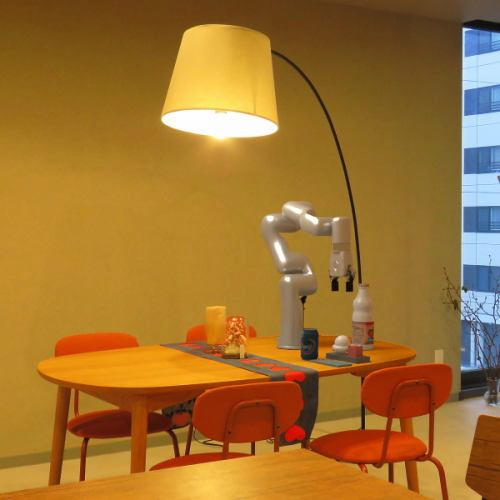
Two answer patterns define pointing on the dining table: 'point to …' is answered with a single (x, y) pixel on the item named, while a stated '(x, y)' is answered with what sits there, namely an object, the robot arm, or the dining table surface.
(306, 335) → the soda can
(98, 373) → the dining table surface
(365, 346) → the fruit juice
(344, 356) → the game base
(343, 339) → the dome
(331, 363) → the board
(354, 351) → the red die
